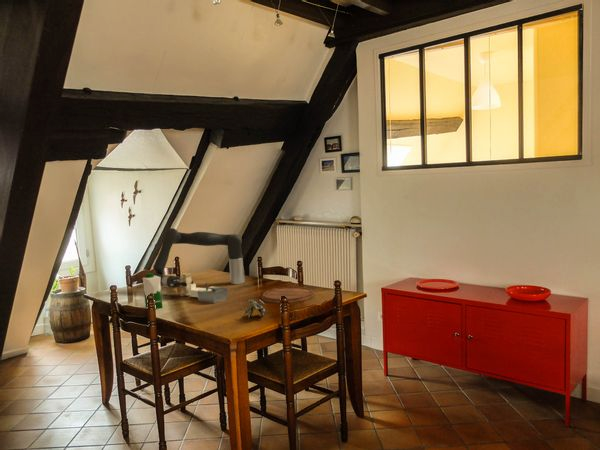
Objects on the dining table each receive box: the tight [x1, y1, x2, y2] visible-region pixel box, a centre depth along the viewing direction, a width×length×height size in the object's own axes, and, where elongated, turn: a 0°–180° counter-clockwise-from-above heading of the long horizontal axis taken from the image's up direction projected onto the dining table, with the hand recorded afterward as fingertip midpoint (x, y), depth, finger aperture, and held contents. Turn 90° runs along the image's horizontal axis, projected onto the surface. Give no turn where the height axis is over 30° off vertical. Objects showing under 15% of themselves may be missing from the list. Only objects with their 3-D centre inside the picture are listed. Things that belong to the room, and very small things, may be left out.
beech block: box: [180, 272, 193, 296], centre depth 306 cm, size 5×5×13 cm
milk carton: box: [142, 272, 163, 310], centre depth 282 cm, size 9×9×20 cm
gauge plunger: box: [189, 282, 212, 298], centre depth 300 cm, size 14×7×8 cm, turn 56°
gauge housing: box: [197, 285, 229, 304], centre depth 294 cm, size 13×12×6 cm
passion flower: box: [240, 299, 266, 319], centre depth 254 cm, size 11×11×12 cm
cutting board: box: [260, 286, 316, 304], centre depth 293 cm, size 32×32×2 cm
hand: (189, 283), depth 305 cm, fingers closed on beech block, 4 cm apart
